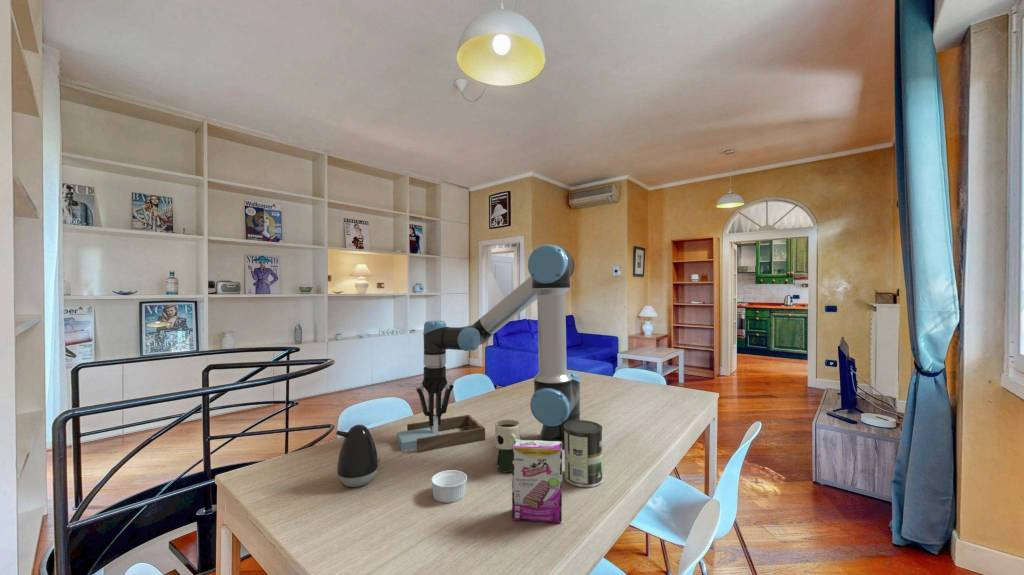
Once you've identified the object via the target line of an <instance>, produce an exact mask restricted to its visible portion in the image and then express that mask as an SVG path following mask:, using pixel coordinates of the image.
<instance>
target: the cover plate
mask: <svg viewBox="0 0 1024 575" xmlns="http://www.w3.org/2000/svg"><path fill="white" fill-rule="evenodd" d="M396 436H397V437H396V438H397V439H396V441H397V443H398V445H399V447H400V449H402V450H401V452H406V451H405V450H407V451H410V450H411V449H413V450H417V439H418V438H424V437H430V436H435V435H434V433H433V432H432V430H431V429H430V428H423V429H416V430H410V431H407V430H405V431H399V432H397V433H396ZM411 451H412V450H411Z"/></svg>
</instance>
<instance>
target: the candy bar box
mask: <svg viewBox="0 0 1024 575" xmlns="http://www.w3.org/2000/svg"><path fill="white" fill-rule="evenodd" d="M511 472H512V478H511V480H512V481H511V485H512V486H511V488H512V489H511V491H512V492H511V495H512V496H511V501H512V502H511V506H512V507H511V520H513V521H526V522H538V521H541V522H542V523H543V522H544V523H554V522H558V523H557V524H559V523H560V522H561V523H563V522H562V517H563V514H562V513H563V448H562V442H560V441H541V440H538V439H537V440H536V439H534V440H533V439H520V440H518V439H515V441H514V445H513V465H512V471H511ZM561 523H560V524H561Z"/></svg>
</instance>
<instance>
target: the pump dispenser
mask: <svg viewBox="0 0 1024 575" xmlns="http://www.w3.org/2000/svg"><path fill="white" fill-rule="evenodd" d="M335 434H336V435H337V436H340V437H341V438H344V439H343V441H342V443H341V447H340V450H339V454H338V460H337V466H336V467H337V468H336V473H337V475H338V478H339V480H340V481H341V483H342V484H343V485H345V486H346V487H350V488H358V487H362V486H364V485H367V484H369V482H371V481H372V480H373V479H374V478H375V475H376V473H377V470H378V468H379V457H378V451H377V447H376V443H375V440H374V438H373V435H372V433H371V431H370V429H369V428H368V427H367V426H365V425H364V424H355V425H353V426H351V427H350V428H349V430H348V431H344V430H337V431H336V433H335Z"/></svg>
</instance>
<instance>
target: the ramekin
mask: <svg viewBox="0 0 1024 575" xmlns="http://www.w3.org/2000/svg"><path fill="white" fill-rule="evenodd" d="M467 481H468V475H467V474H466V473H465V472H463V471H461V470H455V469H449V470H448V469H447V470H443V471H439V472H437V473H435V474H434V475H433V476H431V480H430V482H431V486H432V495H433V496H432V497H433V498H434V500H435V501H436V502H439V503H445V504H446V503H447V504H448V503H455V502H458V501H460V500H462V499H463V498H464V496H465V494H466V491H467V490H466V488H467Z"/></svg>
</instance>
